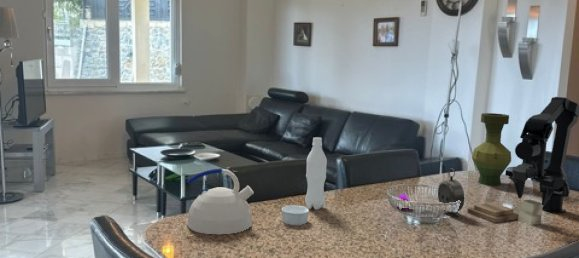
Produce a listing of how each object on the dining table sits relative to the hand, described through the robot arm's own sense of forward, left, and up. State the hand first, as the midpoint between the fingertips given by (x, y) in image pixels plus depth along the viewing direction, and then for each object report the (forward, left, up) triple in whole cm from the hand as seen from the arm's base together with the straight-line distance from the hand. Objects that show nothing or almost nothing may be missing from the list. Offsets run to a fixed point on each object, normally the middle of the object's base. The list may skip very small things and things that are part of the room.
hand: (531, 201), depth 181 cm
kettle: (+96, -38, -7) cm, 104 cm away
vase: (-31, -45, -7) cm, 55 cm away
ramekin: (+73, -31, -7) cm, 80 cm away
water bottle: (+59, -42, -7) cm, 73 cm away
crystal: (+30, -30, -7) cm, 43 cm away
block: (0, 0, -7) cm, 7 cm away
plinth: (+6, -10, -7) cm, 14 cm away
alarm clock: (+19, -18, -7) cm, 27 cm away
